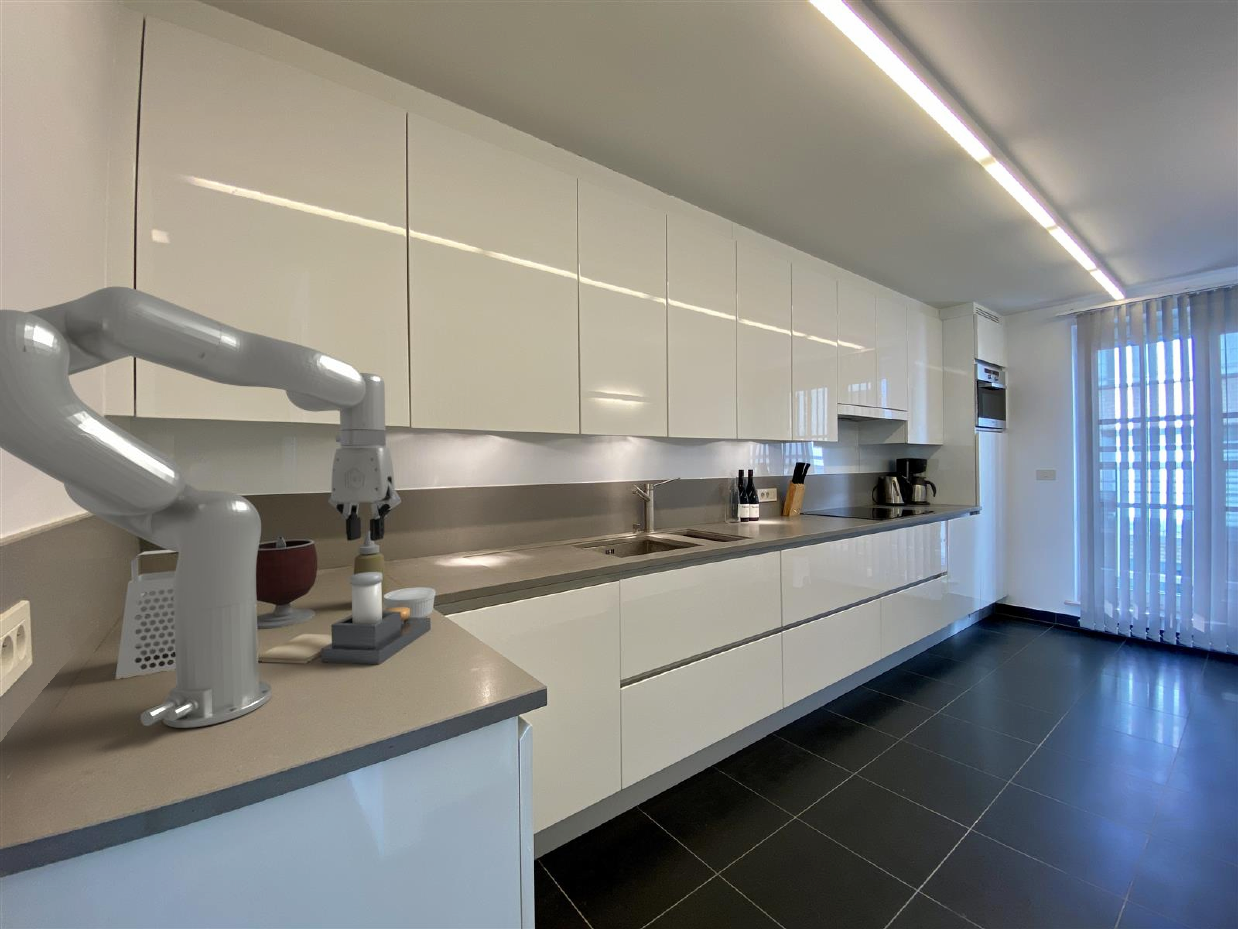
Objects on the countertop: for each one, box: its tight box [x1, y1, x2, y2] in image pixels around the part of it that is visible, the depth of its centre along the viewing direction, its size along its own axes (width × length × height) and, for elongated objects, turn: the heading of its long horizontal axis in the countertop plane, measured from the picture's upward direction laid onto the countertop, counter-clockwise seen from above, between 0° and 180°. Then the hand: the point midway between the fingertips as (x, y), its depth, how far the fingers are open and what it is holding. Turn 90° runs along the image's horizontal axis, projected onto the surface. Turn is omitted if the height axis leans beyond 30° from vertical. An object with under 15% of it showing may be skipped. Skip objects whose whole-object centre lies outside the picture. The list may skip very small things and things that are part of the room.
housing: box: [320, 610, 431, 665], centre depth 100 cm, size 18×11×6 cm, turn 173°
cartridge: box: [349, 572, 383, 624], centre depth 96 cm, size 5×5×12 cm
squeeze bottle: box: [353, 530, 388, 603], centre depth 129 cm, size 8×8×18 cm
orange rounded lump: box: [385, 607, 410, 625], centre depth 106 cm, size 5×5×4 cm
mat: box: [258, 633, 332, 664], centre depth 98 cm, size 12×10×1 cm
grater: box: [115, 549, 176, 678], centre depth 93 cm, size 10×10×20 cm
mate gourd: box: [256, 535, 318, 630], centre depth 116 cm, size 16×14×20 cm
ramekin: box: [383, 586, 437, 618], centre depth 119 cm, size 11×11×5 cm
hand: (365, 538), depth 96 cm, fingers open, 3 cm apart
